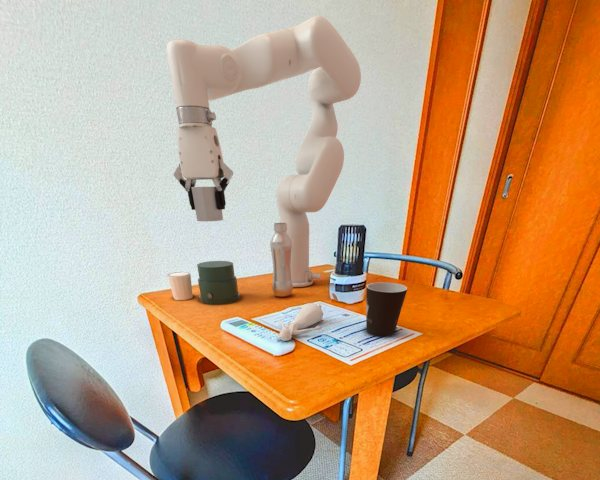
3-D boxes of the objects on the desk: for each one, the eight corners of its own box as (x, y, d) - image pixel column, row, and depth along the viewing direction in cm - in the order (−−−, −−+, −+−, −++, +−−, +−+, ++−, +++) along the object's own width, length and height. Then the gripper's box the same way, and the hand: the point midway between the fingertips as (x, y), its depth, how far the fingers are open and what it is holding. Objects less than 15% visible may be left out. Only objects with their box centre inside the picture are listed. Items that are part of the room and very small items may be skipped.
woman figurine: (338, 303, 75) (305, 332, 63) (337, 320, 78) (306, 351, 65) (295, 297, 80) (257, 323, 67) (296, 314, 83) (259, 342, 70)
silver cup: (227, 219, 86) (222, 186, 82) (216, 221, 81) (211, 186, 77) (204, 219, 88) (199, 187, 83) (192, 221, 82) (186, 187, 78)
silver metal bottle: (268, 297, 96) (264, 223, 85) (278, 292, 101) (275, 222, 90) (287, 299, 94) (285, 224, 83) (296, 294, 99) (295, 222, 88)
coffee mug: (392, 341, 67) (400, 294, 62) (355, 333, 71) (360, 288, 66) (407, 325, 75) (416, 282, 70) (374, 319, 79) (379, 278, 74)
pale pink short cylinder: (180, 302, 93) (175, 277, 89) (167, 298, 96) (161, 274, 92) (199, 296, 97) (195, 273, 94) (186, 293, 101) (181, 270, 97)
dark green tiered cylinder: (246, 294, 99) (242, 260, 94) (230, 305, 89) (225, 268, 84) (211, 292, 102) (206, 259, 96) (192, 303, 92) (185, 267, 86)
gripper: (235, 121, 74) (244, 208, 84) (170, 125, 78) (186, 208, 87) (222, 115, 68) (233, 210, 78) (152, 120, 71) (171, 210, 81)
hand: (208, 208), depth 83 cm, fingers closed on silver cup, 6 cm apart
